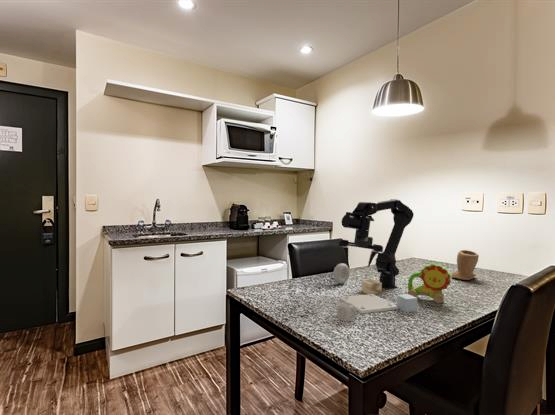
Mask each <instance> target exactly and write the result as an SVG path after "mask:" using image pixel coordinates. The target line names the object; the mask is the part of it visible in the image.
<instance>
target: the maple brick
mask: <svg viewBox="0 0 555 415" xmlns="http://www.w3.org/2000/svg"><path fill="white" fill-rule="evenodd" d="M382 288H383V287H382V283H381V282H379V280H376V279H364V280H363V279H362V280H361V292H363V293H364V294H365V295H368V294H374V295H376V296H377V295H382V293H383V292H382V291H383V290H382Z"/></svg>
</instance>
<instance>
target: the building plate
mask: <svg viewBox="0 0 555 415" xmlns="http://www.w3.org/2000/svg"><path fill="white" fill-rule="evenodd" d="M338 298H339V299H338V300H339V301H341V303H344V302H346V303H351V304H353V305H354V306H355V307H356V310H357V312H358V313H360V314H367V313H368V314H370V313H378V312H384V311H394V310H395V311H396V310H399V309H398V306H397V304H395V303H392V302H391V301H388V300H386V299H384V298H381V297H379V295H378V296H377V295H374V294H359V295H349V296H348V295H347V296H345V295H344V296H340V297H338Z"/></svg>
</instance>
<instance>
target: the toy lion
mask: <svg viewBox="0 0 555 415" xmlns="http://www.w3.org/2000/svg"><path fill="white" fill-rule="evenodd" d="M451 277H452V276H451V273H450V272H449V270H448V269H447V268H446V267H443V266H442V265H441V264H436V263H433V262H432V263H430V264H427V265H425V266H424V267H423V268H422V269H421V270H420V271H416V272H414V273H412V274H411V275H410V277H409V279H408V282H407V290H408V291H407V293H406V294H409V295H411V296H414V297H416V298H417V296H426V297H429V298H431V299H432V300H433V301H434V302H435V303H437V304H441V303H443V302H444V299H445V298H444V297H445V295H444V292H443V290H447V289H448V287H449V286H450V285H451V281H452V280H451ZM415 278H419V279H420V280H421V281H422V282H423V283H422V284H421V285H419V286H417V287H415V286H413V280H414V279H415Z"/></svg>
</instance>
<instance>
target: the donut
mask: <svg viewBox="0 0 555 415" xmlns="http://www.w3.org/2000/svg"><path fill="white" fill-rule="evenodd" d="M341 273H342V275H341ZM350 276H351V273H350V268H349V266H348V265H347V264H346V263H342V262H341V263H337V265H336V266H334V269H333V273H332V277H333V280H334V281H335V282H336V283H337V284H340V285H343V284H345V283H347V281H348V280H349V278H350Z"/></svg>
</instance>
